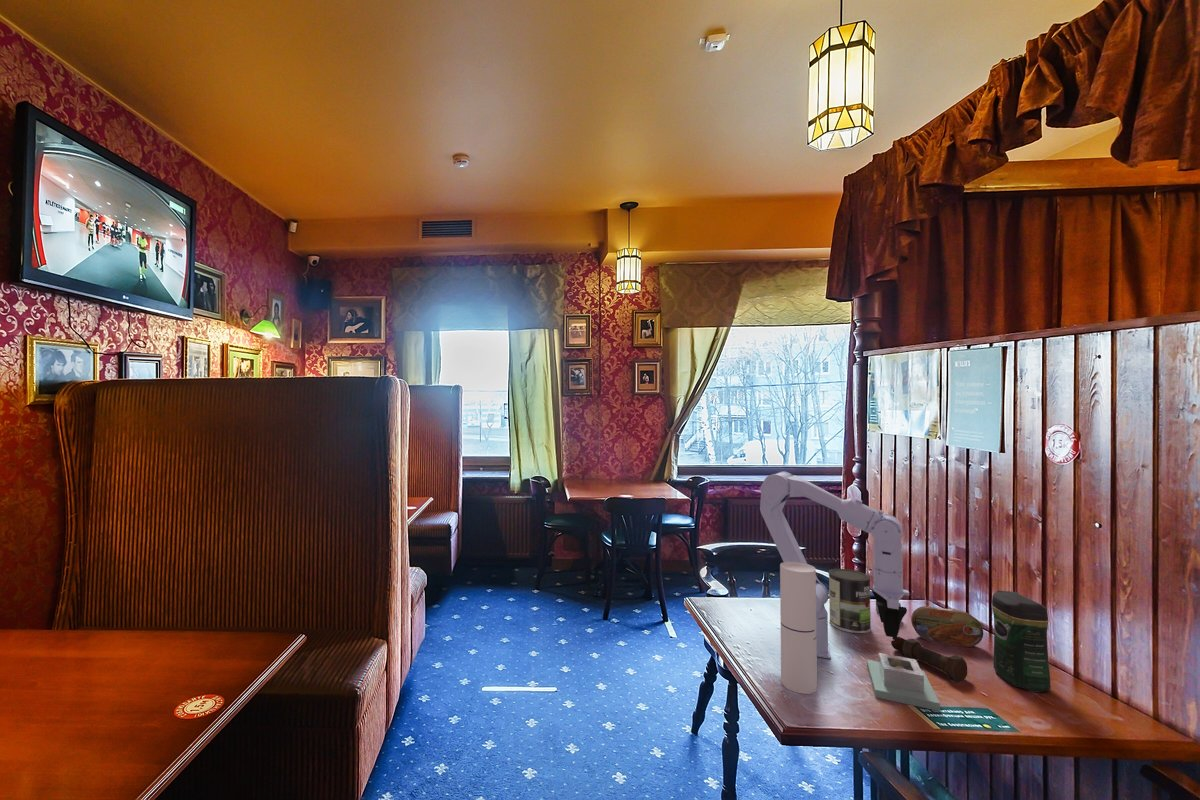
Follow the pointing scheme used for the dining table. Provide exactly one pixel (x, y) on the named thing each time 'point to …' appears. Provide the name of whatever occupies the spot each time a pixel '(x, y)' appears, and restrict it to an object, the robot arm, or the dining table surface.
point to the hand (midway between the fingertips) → (888, 629)
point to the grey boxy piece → (901, 673)
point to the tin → (947, 626)
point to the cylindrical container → (798, 627)
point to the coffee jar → (1021, 641)
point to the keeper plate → (902, 690)
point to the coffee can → (849, 600)
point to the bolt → (932, 658)
